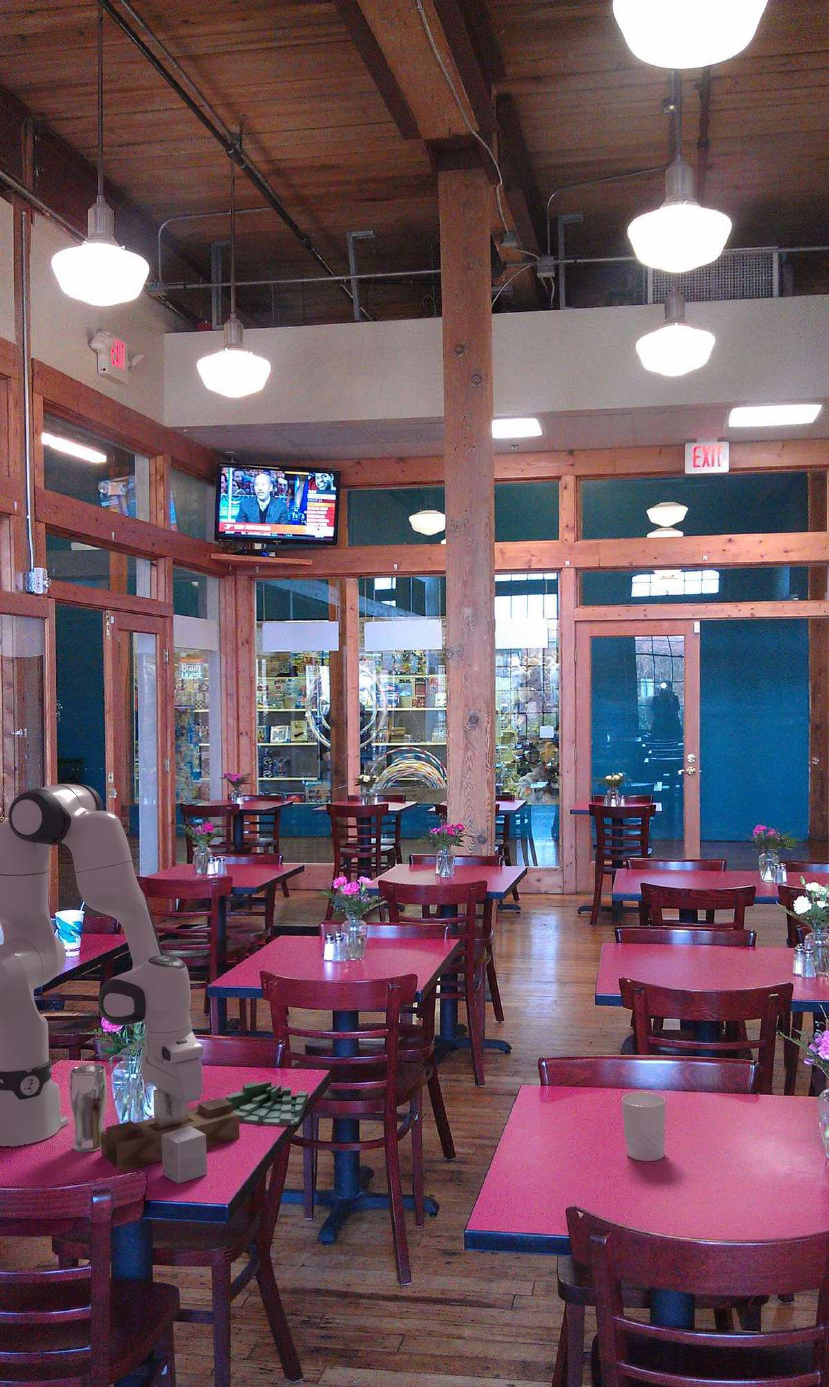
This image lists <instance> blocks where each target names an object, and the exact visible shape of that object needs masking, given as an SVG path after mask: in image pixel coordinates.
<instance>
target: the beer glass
mask: <svg viewBox="0 0 829 1387" xmlns="http://www.w3.org/2000/svg"><path fill="white" fill-rule="evenodd" d="M69 1073H70V1077H69V1080H70V1081H69V1100H70V1108H71V1113H72V1118H73V1122H74V1130H75V1132H74V1142H73V1150H74V1151H75V1152H77V1153H83V1154H84V1153H85V1154H86V1153H87V1154H88V1153H93V1152H97V1151H100V1150H102V1149H101V1132H102V1131H105V1130H104V1129H105V1127H104V1126H105V1125H104V1121H105V1115H106V1108H107V1100H108V1098H107V1097H108V1081H107V1072H106V1066H105V1065H104V1064H99V1063H86V1064H81V1065H78V1066H75V1067H73V1068H71V1069H70V1072H69Z"/></svg>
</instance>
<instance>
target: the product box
mask: <svg viewBox="0 0 829 1387" xmlns="http://www.w3.org/2000/svg"><path fill="white" fill-rule="evenodd" d="M207 1156H208V1155H207V1148H206V1134H204V1133H202V1132H200V1131H198V1130H197V1129H195V1128H193V1127H191V1126H188V1127H185V1128H181V1129H178V1130H175V1131H172V1132H168V1133H165V1134H162V1161H161V1162H162V1175H163V1176H165V1177H166V1178H168V1179H170V1180H171V1181H173V1182H174V1183H176V1184H178V1185H179V1184H182V1183H184V1182H185V1183H186V1182H188V1181H192V1180H194V1179H197V1178H201V1177H203V1176H207V1175H208V1164H207V1163H208V1161H207V1160H208V1157H207Z"/></svg>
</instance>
